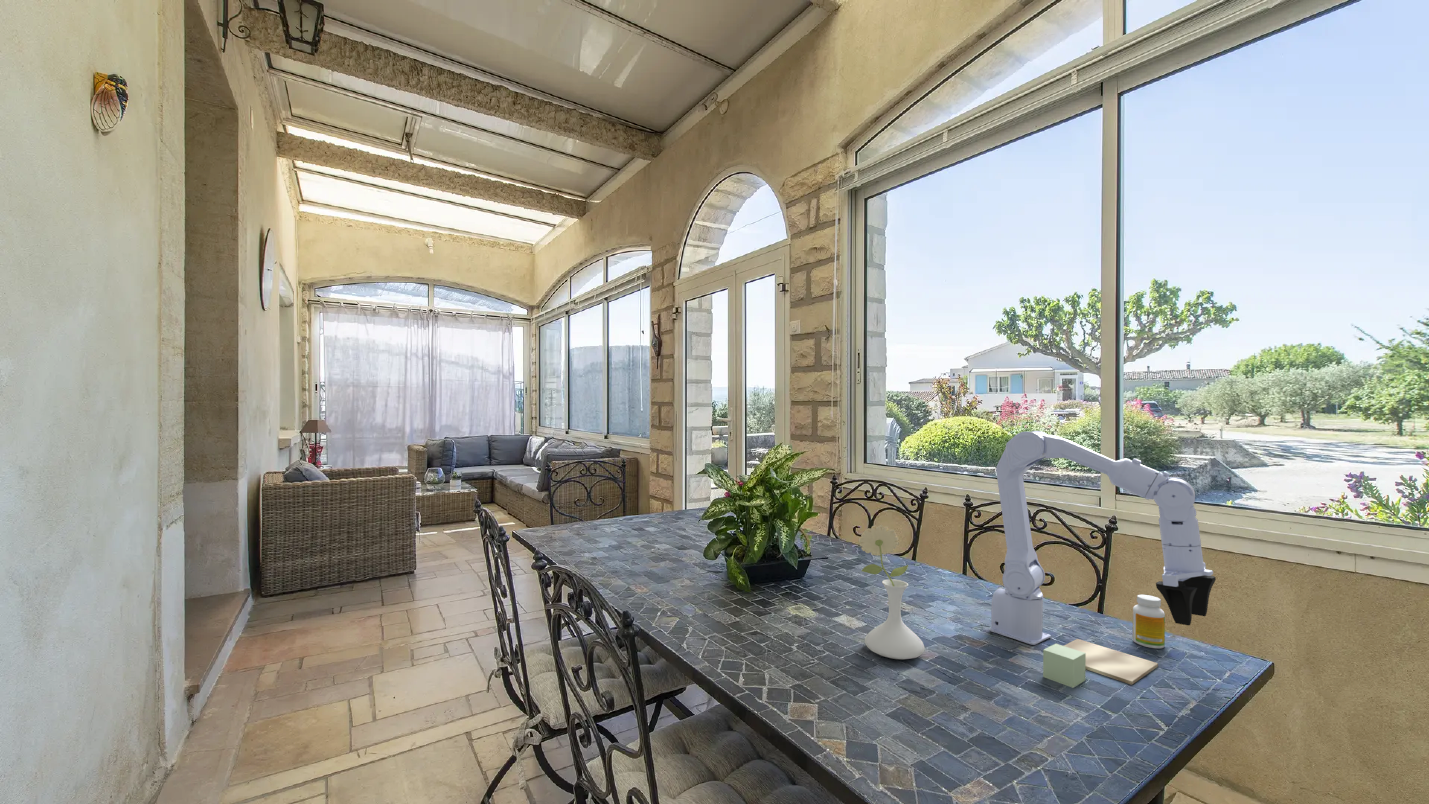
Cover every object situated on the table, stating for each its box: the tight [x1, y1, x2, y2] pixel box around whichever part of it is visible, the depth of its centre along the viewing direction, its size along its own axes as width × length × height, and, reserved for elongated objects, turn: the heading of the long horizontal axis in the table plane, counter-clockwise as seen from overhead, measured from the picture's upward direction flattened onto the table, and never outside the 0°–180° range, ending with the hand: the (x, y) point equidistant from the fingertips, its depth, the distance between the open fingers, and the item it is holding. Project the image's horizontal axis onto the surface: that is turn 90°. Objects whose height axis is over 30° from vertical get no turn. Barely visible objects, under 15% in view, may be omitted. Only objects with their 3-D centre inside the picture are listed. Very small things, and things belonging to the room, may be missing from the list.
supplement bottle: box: [1132, 594, 1166, 649], centre depth 120 cm, size 5×5×10 cm
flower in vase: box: [858, 524, 926, 660], centre depth 114 cm, size 13×11×25 cm
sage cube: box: [1042, 643, 1086, 689], centre depth 104 cm, size 5×5×5 cm
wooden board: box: [1063, 638, 1159, 686], centre depth 111 cm, size 14×13×1 cm
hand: (1190, 619), depth 105 cm, fingers open, 7 cm apart
